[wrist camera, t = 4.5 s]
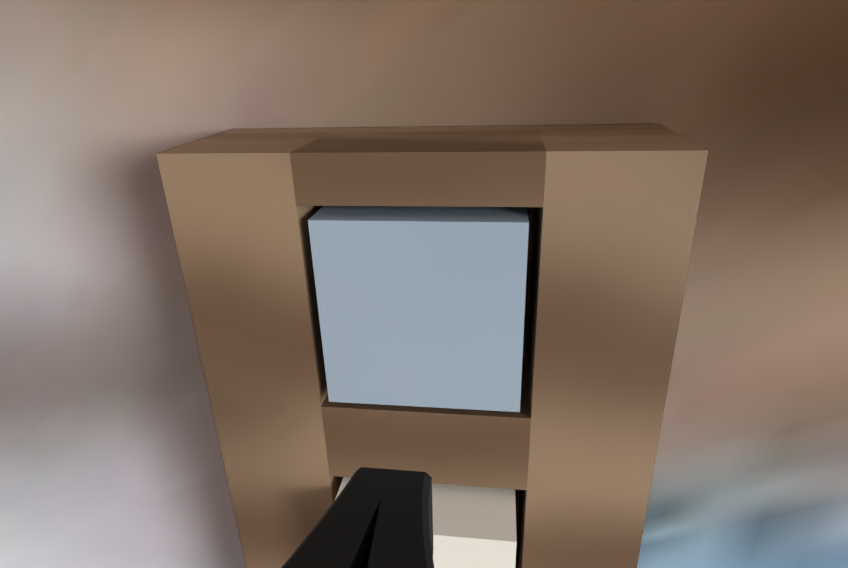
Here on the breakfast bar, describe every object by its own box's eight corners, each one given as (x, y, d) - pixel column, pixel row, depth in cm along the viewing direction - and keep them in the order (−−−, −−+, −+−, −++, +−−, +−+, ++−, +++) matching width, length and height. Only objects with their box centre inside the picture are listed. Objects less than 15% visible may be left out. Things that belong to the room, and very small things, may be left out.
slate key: (517, 352, 17) (519, 412, 14) (355, 345, 17) (328, 401, 15) (524, 189, 15) (528, 222, 12) (342, 188, 15) (307, 220, 13)
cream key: (509, 577, 19) (510, 668, 16) (364, 564, 19) (341, 649, 17) (514, 460, 17) (516, 542, 14) (353, 449, 17) (325, 525, 15)
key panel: (582, 688, 24) (596, 801, 21) (318, 657, 26) (287, 757, 22) (657, 123, 15) (708, 150, 11) (233, 128, 16) (155, 153, 13)
